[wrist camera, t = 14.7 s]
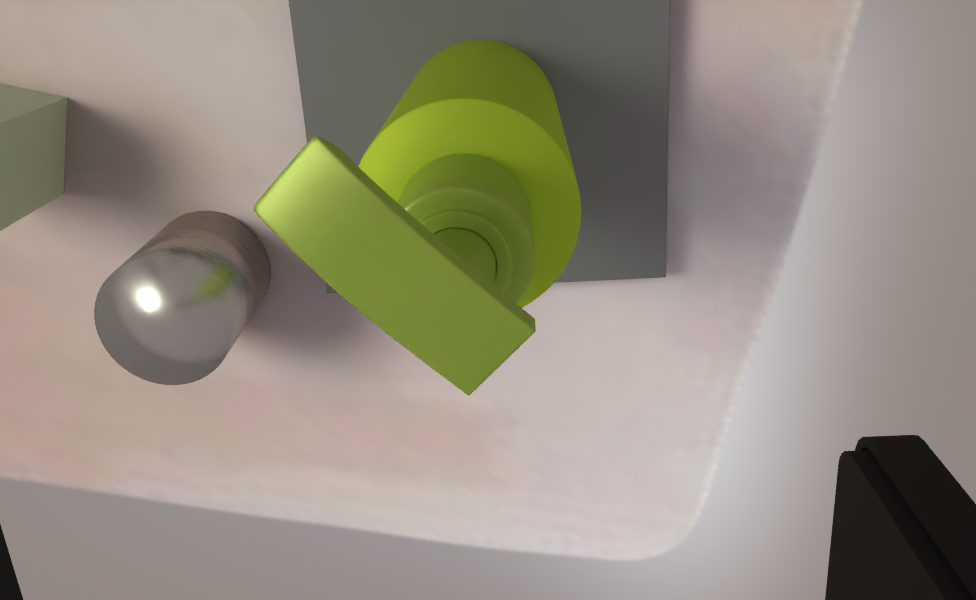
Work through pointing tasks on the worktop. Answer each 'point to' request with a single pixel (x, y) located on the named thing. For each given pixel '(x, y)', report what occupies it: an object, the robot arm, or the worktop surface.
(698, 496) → the worktop surface
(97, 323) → the metal tin
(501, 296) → the lime spray bottle
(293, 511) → the worktop surface
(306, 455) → the worktop surface
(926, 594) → the robot arm
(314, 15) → the plate
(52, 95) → the pale green box
